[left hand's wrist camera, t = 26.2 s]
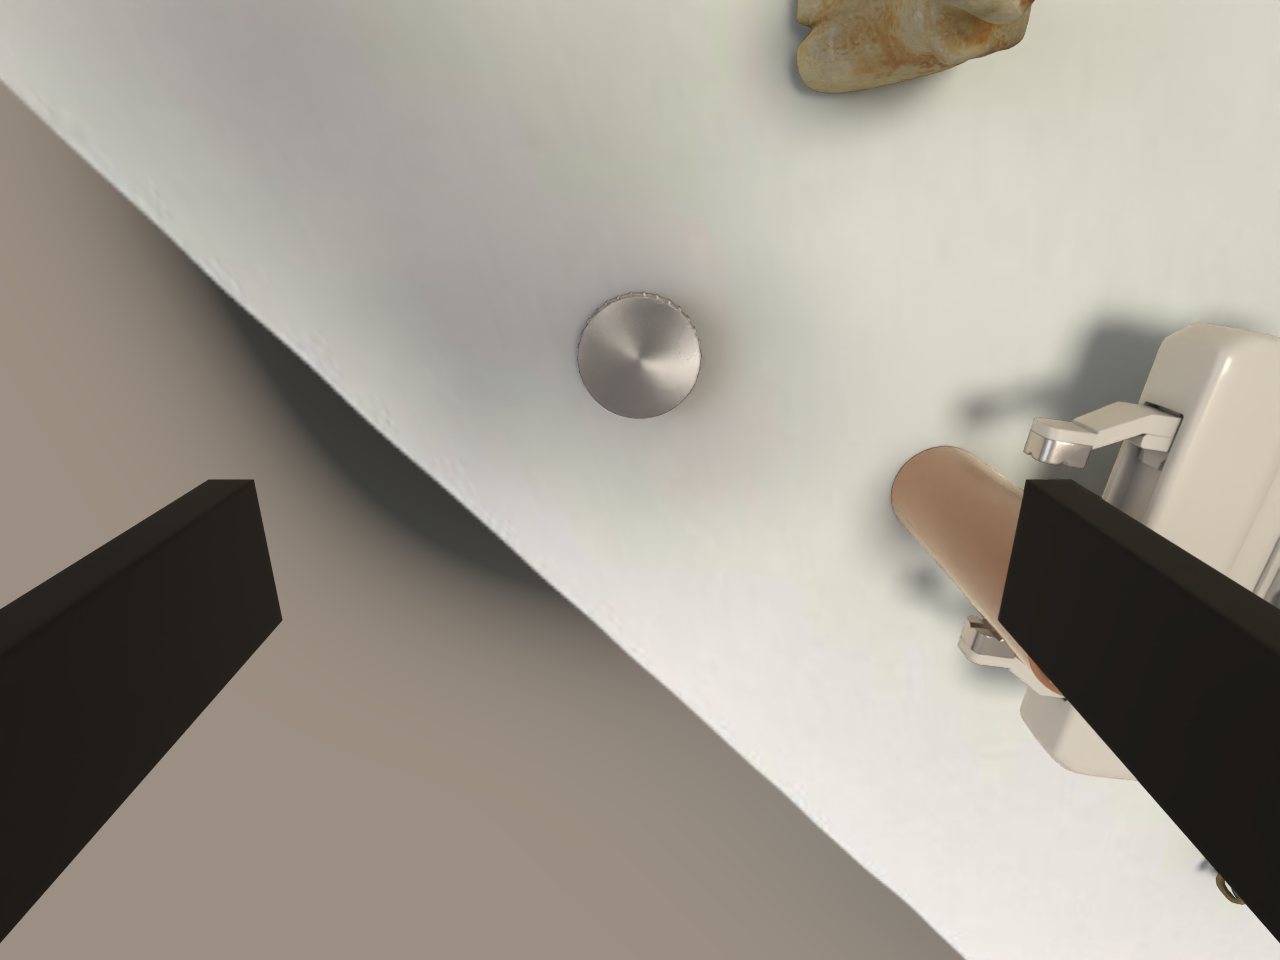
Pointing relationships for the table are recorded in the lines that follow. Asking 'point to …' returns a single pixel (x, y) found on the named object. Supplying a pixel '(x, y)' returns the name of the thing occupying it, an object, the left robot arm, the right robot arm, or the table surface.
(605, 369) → the lid
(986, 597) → the jar
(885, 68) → the sculpture
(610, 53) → the table surface
